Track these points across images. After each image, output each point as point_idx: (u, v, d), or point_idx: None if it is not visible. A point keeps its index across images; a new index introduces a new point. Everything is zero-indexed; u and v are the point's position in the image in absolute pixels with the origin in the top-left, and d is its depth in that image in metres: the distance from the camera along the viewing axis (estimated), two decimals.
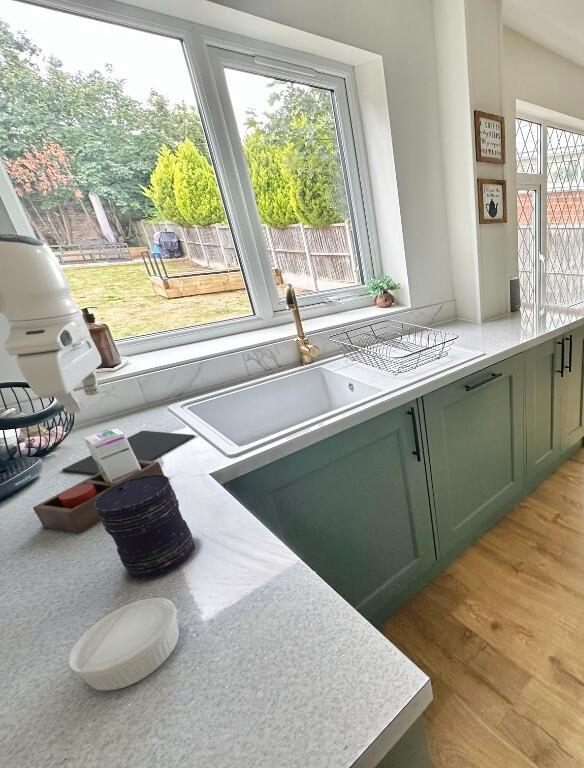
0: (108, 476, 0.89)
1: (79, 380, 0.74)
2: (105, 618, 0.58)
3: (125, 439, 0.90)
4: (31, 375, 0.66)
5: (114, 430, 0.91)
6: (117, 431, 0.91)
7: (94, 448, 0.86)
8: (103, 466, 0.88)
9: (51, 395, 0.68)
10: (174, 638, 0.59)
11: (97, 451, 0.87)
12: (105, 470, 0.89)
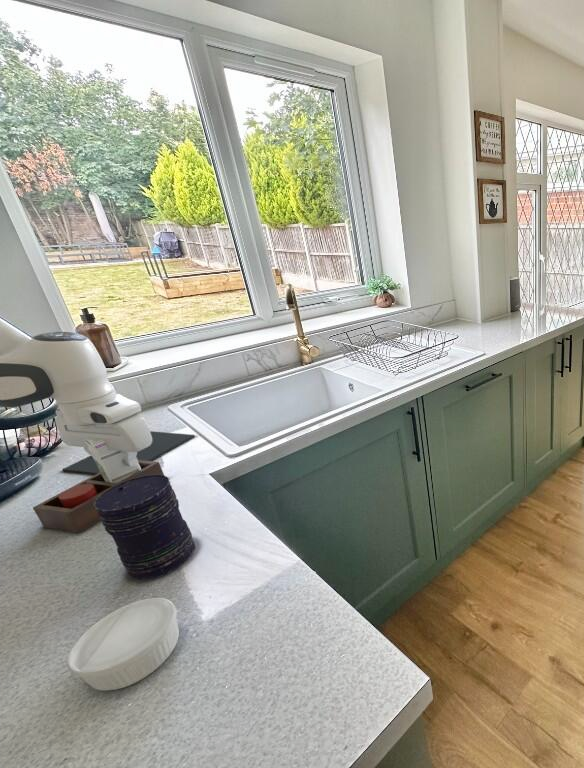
0: (108, 476, 0.89)
1: None
2: (105, 618, 0.58)
3: None
4: (132, 434, 0.86)
5: None
6: None
7: (94, 448, 0.86)
8: (103, 466, 0.88)
9: (145, 447, 0.89)
10: (174, 638, 0.59)
11: (97, 451, 0.87)
12: (105, 470, 0.89)
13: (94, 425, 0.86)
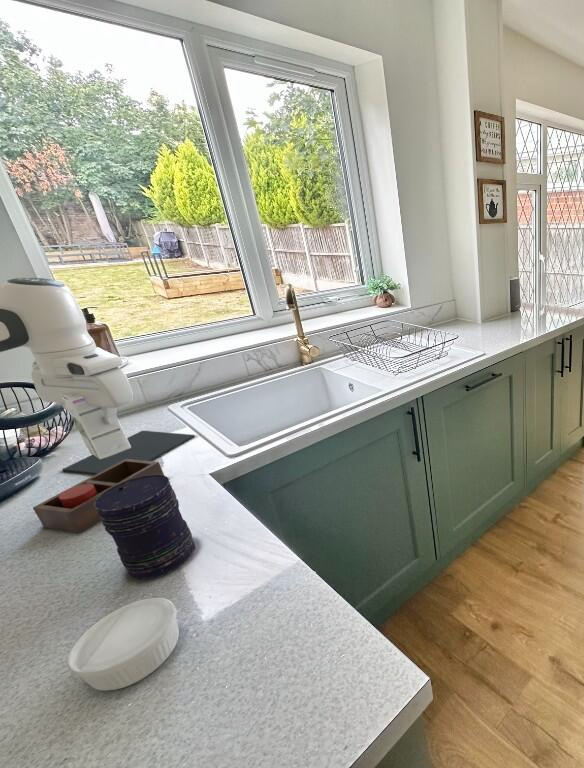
0: (87, 434, 0.85)
1: None
2: (105, 618, 0.58)
3: None
4: (112, 388, 0.82)
5: None
6: None
7: (71, 403, 0.82)
8: (81, 423, 0.84)
9: (125, 403, 0.84)
10: (174, 638, 0.59)
11: (75, 407, 0.83)
12: (84, 427, 0.85)
13: (72, 378, 0.82)
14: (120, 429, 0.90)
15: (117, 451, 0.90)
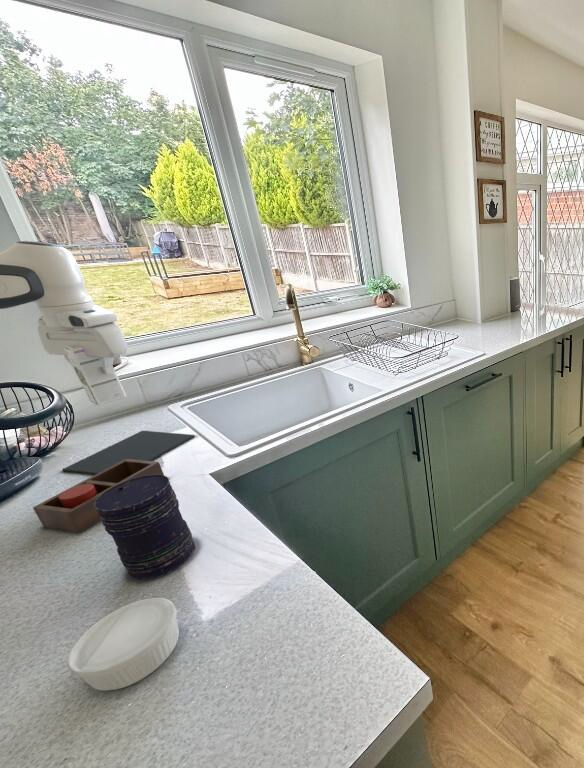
0: (87, 381, 0.97)
1: None
2: (105, 618, 0.58)
3: None
4: (108, 339, 0.93)
5: None
6: None
7: (73, 353, 0.94)
8: (82, 371, 0.95)
9: (120, 354, 0.96)
10: (174, 638, 0.59)
11: (76, 356, 0.94)
12: (84, 375, 0.96)
13: (73, 330, 0.93)
14: (116, 379, 1.01)
15: (114, 399, 1.01)
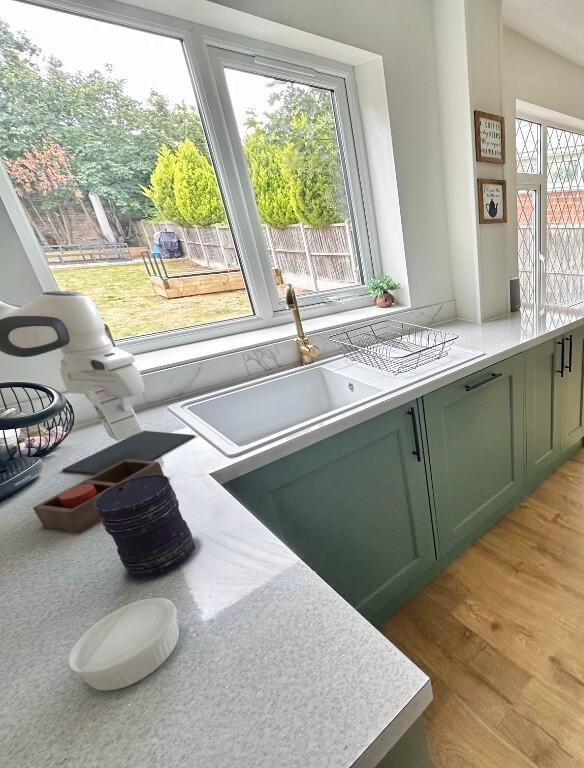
0: (107, 419, 1.02)
1: None
2: (105, 618, 0.58)
3: None
4: (127, 380, 0.99)
5: None
6: None
7: (94, 393, 1.00)
8: (102, 410, 1.01)
9: (138, 393, 1.02)
10: (174, 638, 0.59)
11: (97, 396, 1.00)
12: (104, 413, 1.02)
13: (94, 373, 0.99)
14: (134, 415, 1.07)
15: (131, 434, 1.07)
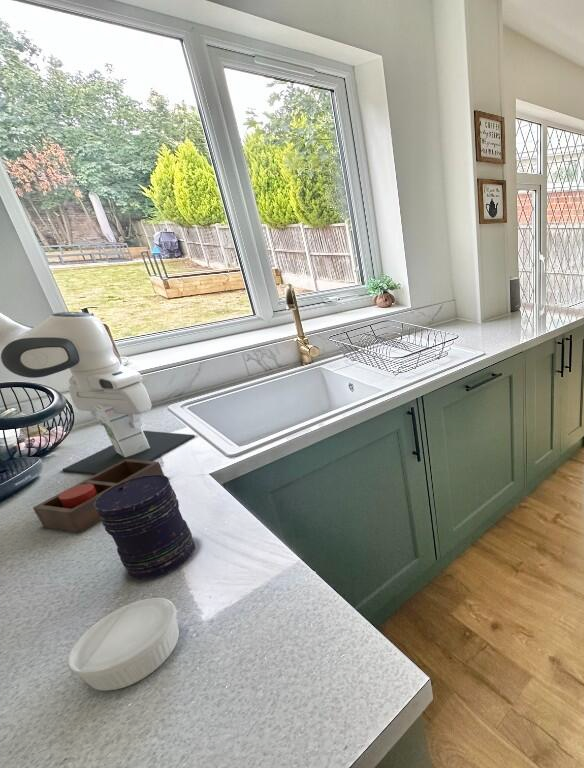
0: (115, 437, 1.04)
1: None
2: (105, 618, 0.58)
3: None
4: (135, 399, 1.01)
5: None
6: None
7: (104, 412, 1.02)
8: (111, 428, 1.03)
9: (145, 410, 1.04)
10: (174, 638, 0.59)
11: (106, 415, 1.02)
12: (113, 431, 1.04)
13: (102, 391, 1.01)
14: (141, 433, 1.09)
15: (139, 451, 1.09)
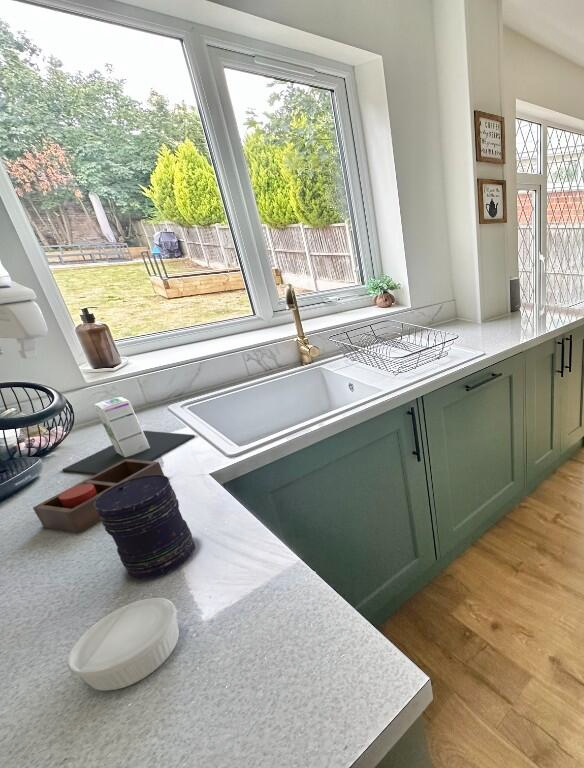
0: (115, 437, 1.04)
1: None
2: (105, 618, 0.58)
3: (130, 405, 1.06)
4: (23, 319, 0.83)
5: (120, 398, 1.06)
6: (122, 399, 1.06)
7: (104, 412, 1.02)
8: (111, 428, 1.03)
9: (38, 335, 0.86)
10: (174, 638, 0.59)
11: (106, 415, 1.02)
12: (113, 431, 1.04)
13: None
14: (141, 433, 1.09)
15: (139, 451, 1.09)
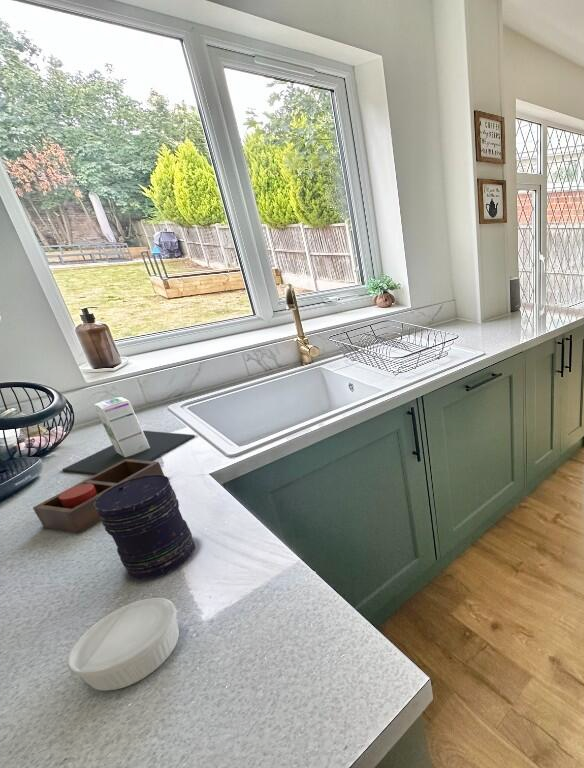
0: (115, 437, 1.04)
1: None
2: (105, 618, 0.58)
3: (130, 405, 1.06)
4: None
5: (120, 398, 1.06)
6: (122, 399, 1.06)
7: (104, 412, 1.02)
8: (111, 428, 1.03)
9: None
10: (174, 638, 0.59)
11: (106, 415, 1.02)
12: (113, 431, 1.04)
13: None
14: (141, 433, 1.09)
15: (139, 451, 1.09)
